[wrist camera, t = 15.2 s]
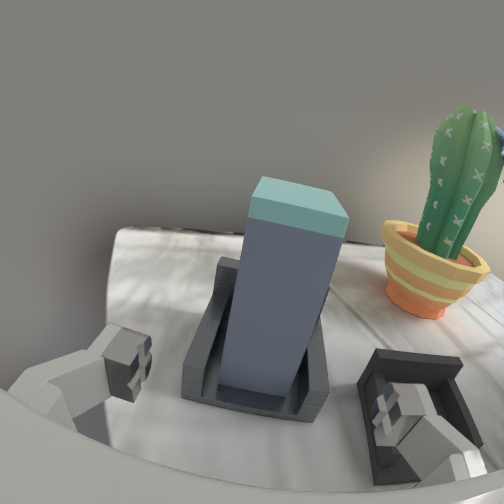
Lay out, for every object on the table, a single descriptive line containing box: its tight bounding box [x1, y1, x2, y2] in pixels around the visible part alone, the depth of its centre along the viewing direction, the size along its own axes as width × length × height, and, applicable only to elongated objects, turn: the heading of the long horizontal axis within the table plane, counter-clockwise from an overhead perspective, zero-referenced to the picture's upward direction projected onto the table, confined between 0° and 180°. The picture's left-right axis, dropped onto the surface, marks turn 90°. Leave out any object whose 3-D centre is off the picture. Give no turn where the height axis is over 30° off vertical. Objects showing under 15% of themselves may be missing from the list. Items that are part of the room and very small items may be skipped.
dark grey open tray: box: [357, 348, 483, 485], centre depth 16 cm, size 9×8×4 cm
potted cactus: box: [381, 105, 504, 319], centre depth 31 cm, size 15×15×25 cm
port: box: [181, 257, 330, 423], centre depth 21 cm, size 10×8×6 cm
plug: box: [218, 176, 349, 397], centre depth 19 cm, size 6×4×12 cm
